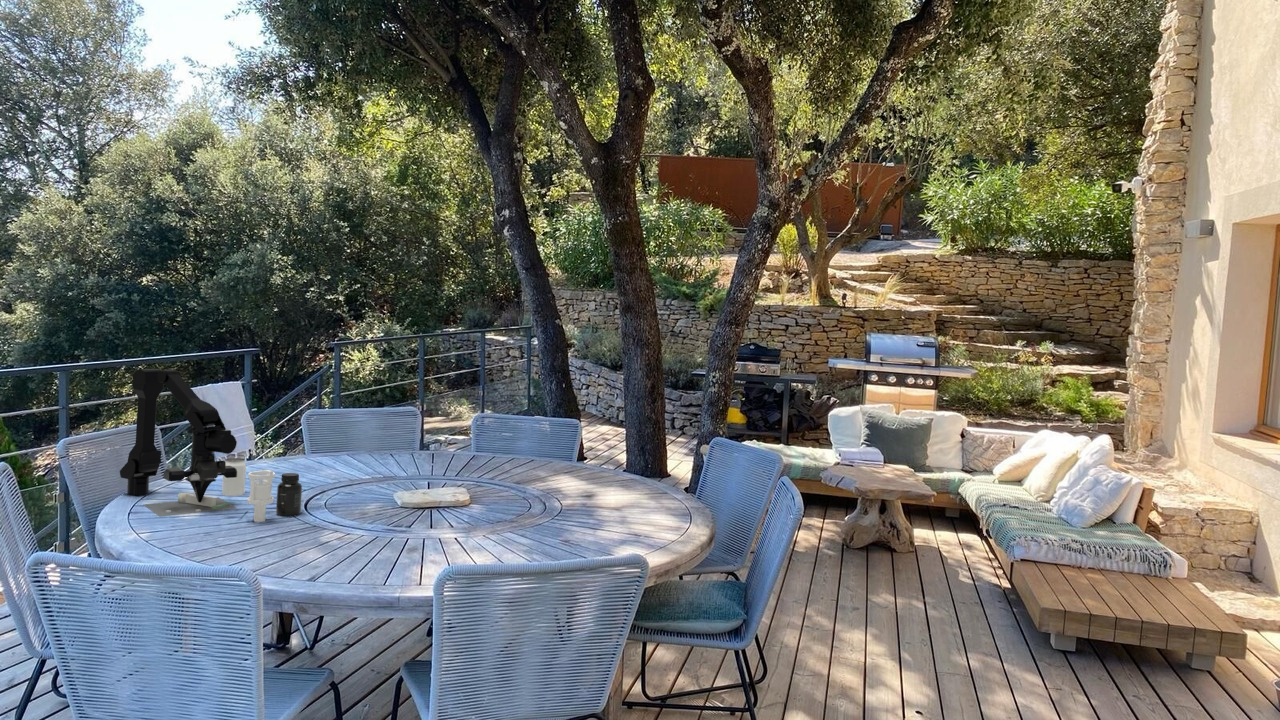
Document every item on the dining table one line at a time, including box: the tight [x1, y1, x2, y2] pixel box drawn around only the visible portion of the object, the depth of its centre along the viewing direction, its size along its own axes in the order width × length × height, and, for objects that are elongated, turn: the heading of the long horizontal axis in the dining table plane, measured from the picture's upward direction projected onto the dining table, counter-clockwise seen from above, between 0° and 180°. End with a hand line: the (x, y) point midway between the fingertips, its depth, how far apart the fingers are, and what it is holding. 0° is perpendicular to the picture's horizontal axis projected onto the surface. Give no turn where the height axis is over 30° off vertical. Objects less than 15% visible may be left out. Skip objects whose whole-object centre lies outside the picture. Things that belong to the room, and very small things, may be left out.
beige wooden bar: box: [177, 492, 217, 507], centre depth 255 cm, size 13×3×2 cm, turn 73°
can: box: [221, 457, 247, 497], centre depth 271 cm, size 6×6×12 cm
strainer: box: [246, 469, 276, 523], centre depth 246 cm, size 7×7×15 cm
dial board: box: [142, 497, 238, 518], centre depth 252 cm, size 16×21×2 cm
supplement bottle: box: [275, 472, 303, 517], centre depth 256 cm, size 7×7×12 cm
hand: (199, 502), depth 253 cm, fingers closed
